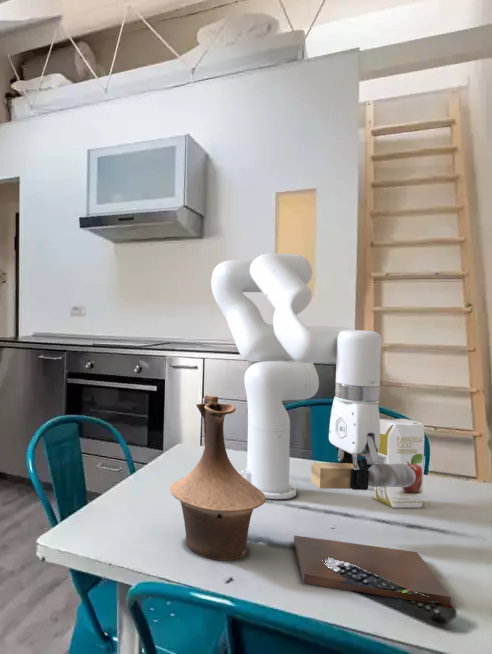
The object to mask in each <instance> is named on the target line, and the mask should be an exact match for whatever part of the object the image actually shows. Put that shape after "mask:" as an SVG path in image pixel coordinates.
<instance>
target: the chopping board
mask: <svg viewBox="0 0 492 654" xmlns="http://www.w3.org/2000/svg"><path fill="white" fill-rule="evenodd" d="M293 546H294V550H295V553H296V558H297V562H298V564H299V570H300V574H301V577H302V581H303V583H304V584H308V585H313V586H319V587H324V588H325V587H326V588H332V589H339V590H344V591H345V590H346V591H352V592H357V593H365V594H369V595H370V594H371V595H376V596H381V597H387V598H388V597H389V598H395V599H400V600H407V601H414V602H419V603H426V604H431V603H430V602H429V601H428V599H431V600H434V601H438V602H439V603H442V604H444V605H443V606H445V607H451V605H452V597H451V595H450V594H449V593H448V591H447V590H446V589H445V587H444V586H443V584H442V583H441V582H440V580H439V579H438V578H437V576H436V575H435V574H434V573H433V572H432V570H431V569H430V567H429V566H428V565H427V563H426V562H425V560H424V559H423V558H422V556H421V555H420V554H419V553H418V551H413V550H405V549H398V548H390V547H382V546H376V545H368V544H361V543H354V542H345V541H338V540H331V539H325V538H317V537H311V536H310V537H308V536H301V535H293ZM328 557H329V558H333V559H335V560H339V561H344V562H348V563H350V564H353V565H356V566H358V567H360V568H362V569H364V570H367V571H368V572H371V573H373V574H376V575H378V576H380V577H382V578H384V579H386V580H389V581H391V582H393V583H395V584H397V585H399V586H402V587H404V588H407V589H410V590H413V591H415V592H418V593H421V594H424V595H426V596H423V599H422V597H421V595H419V596H418V595H414V594H408V593H402V592H395V591H389V590H383V589H376V588H370V587H363V586H357V585H351V584H344V583H340V582H342V581H347V580H346V578H343V577H342V575H341V576H340V574H339V573H337V574H336V572H335V573H334V571H333V570H332V569H330V568H328V567H327V566H326V565H325V564H326V563H325V560H326V559H327V560H328ZM322 560H323V561H322ZM324 563H325V564H324ZM329 567H330V566H329ZM427 596H429V597H427ZM432 605H434V604H433V603H432Z"/></svg>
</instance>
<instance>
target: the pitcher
mask: <svg viewBox="0 0 492 654" xmlns="http://www.w3.org/2000/svg"><path fill="white" fill-rule="evenodd" d="M196 408H197V409H198V411H199V413H200V414H201V416H202V418H203V434H204V435H203V437H204V439H203V440H204V449H203V453H202V456H201V458H200V459H199V461H198V463H197V464H196V466H194V468H193V469H192V470H190V472H189V473H187V474H186V475H184V476H183V477H181V478H180V479H178V480H175V481H174V482H172V483H171V484H170V486H169V492H170V494H171V495H172V496H173V497H174V499H176V500H178V501H179V502H180V505H181V510H182V516H183V523H184V529H185V545H186V547H187V548H188V550H190V551H191V552H192V553H194V554H196V555H198V556H200V557H203V558H207V559H211V560H215V561H216V560H217V561H230V560H231V561H233V560H237V559H240V558H242V557H244V556H245V555H246V554H247V551H248V549H247V544H248V543H247V542H248V534H249V528H250V523H251V518H252V515H253V511H254V510H255V509H257V508H259V507H261V506H263V505H264V504H265V503H266V499H267V498H265V495H264V494H263V493H262V492H261V491H260V490H259V489H258V488H256V487H255V486H254V485H252V484H251V483H250V482H248V481H247V480H246V479H245V478H244V477H242V476H241V475H240V474H239V473H238V472H237V471H238V470H236V468H235V467H234V465H233V464H232V462H231V460H230V458H229V456H228V453H227V452H228V451H227V449H226V444H225V443H226V442H225V434H224V421H225V417H226V415H230V414H233V413H235V412H236V411H237V409H236V407H235V406H234V405H232V404H229V403H219V397H218V396H216V395H213V394H206V395H205V396H204V400H203V403H196Z"/></svg>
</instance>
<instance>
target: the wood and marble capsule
mask: <svg viewBox="0 0 492 654" xmlns="http://www.w3.org/2000/svg"><path fill="white" fill-rule="evenodd" d="M310 469H311V470H310V471H311V472H310V483H311V484H312V485H314V486H316V487H317V488H318V489H325V490H327V489H328V490H329V489H330V490H331V489H333V490H334V489H335V490H338V489H339V490H352V489H351V488H350V482H351V469H354V467H353V463H339V462H311V468H310ZM415 479H416V475H415V472H414V471H413V469H412V468H410V467H409V466H407V465H404V464H373V465H372V466H371V470H369V481H368V487H371V488H372V487H373V488H374V487H408V486H411V485H412V484H413V483H414V482H415Z"/></svg>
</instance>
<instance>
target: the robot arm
mask: <svg viewBox="0 0 492 654" xmlns="http://www.w3.org/2000/svg"><path fill="white" fill-rule="evenodd" d="M312 277H313V267H312V265H311V263H310V261H309V260H308V259H307V258H306V257H304V256H302V255H300V254H296V253H295V254H294V253H275V252H274V253H273V252H272V253H270V252H269V253H264V254H261V255H259V256H257V257H256V258H254V259H229V260H224V261H222V262H220V263H218V264H217V265H216V266H215V267H214V269H213V271H212V273H211V281H210V282H211V283H210V284H211V292H212V295H213V299H214V301H215V303H216V305H217V307H218V308H219V310H220V312H221V313H222V314H223V316H224V319H225V321H226V323H227V326H228V328H229V331H230V333H231V336H232V338H233V341H234V343H235V346H236V348H237V351H238V353H239V355H240V357H241V358H242V359H243V360H244V361H247V362H255V363H253V364H251V365H250V366H249V367H248V368H247V369H246V371H245V373H244V377H243V382H244V389H245V395H246V403H247V452H246V454H247V457H246V466H245V468H244V469H241V470H236V471H237V472H238V473H239V474H240V475H241V476H242V477H244V478H245V479H246V480H247V481H248V482H250V483H251V484H252V485H254V486H255V487H256V488H258V489H259V490H260V491H261V492H262V493H263V494H264V495H265V498H266V499H268V500H288V499H292V498H294V497H296V495H297V489H296V487H294V486H293V485H291V484H290V452H291V451H290V450H291V448H290V447H291V418H290V416H289V413H288V410H287V409H286V407H285V405H284V404H283V402H284V401H300V400H307V399H310V398H313V397H314V396H316V394H318V393H317V392H318V391H319V387H320V380H319V379H320V378H319V374H318V371H317V369H316V366H315V364H335V365H336V366H335V385H334V387H335V388H334V397H333V401H332V406H331V410H330V418H329V426H328V427H329V429H328V441H329V443H330V444H331V445H333V446H334V447H335V448H336V449H335V450H336V451H337V460H338V463H353V467H354V469H351V482H350V488H351V489H350V490H353V491H368V489H369V486H368V481H369V470H371V466H372V465H373V464H375V463H377V462H378V461H379V459H378V455H377V454H378V452H379V447H380V419H381V417H380V408H379V403H380V389H381V386H380V385H381V365H382V364H381V361H382V335H381V333H379V332H377V331H373V330H366V329H365V330H362V329H352V328H348V327H344V326H306V325H305V324H304V323H303V322H302V320H300V317H298V315H299V314H301V313H302V312H303V311H304V310H305V309H307V307H309V305H310V303H311V302H312V299H313V294H312V290H311V288H310V287H309V286H308V284H310V282H311V280H312ZM244 293H262V294H263V295H264V297H265V298H266V300H267V301H268V302H269V304H270V305H271V306H272V307H273V308H274V312H273V316H272V322H273V323H271V324H270V323H267V322H266V321H265V320H264V318H263V316H262V314H261V312H260V311H261V310H260V309H259V307H258V305H256V303H255V302H253V300H251V298H249V297H248V296H247V295H245V294H244ZM360 458H361V459H360Z"/></svg>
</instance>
